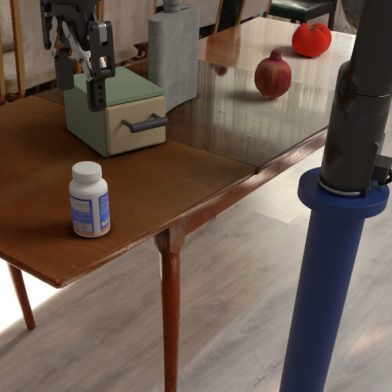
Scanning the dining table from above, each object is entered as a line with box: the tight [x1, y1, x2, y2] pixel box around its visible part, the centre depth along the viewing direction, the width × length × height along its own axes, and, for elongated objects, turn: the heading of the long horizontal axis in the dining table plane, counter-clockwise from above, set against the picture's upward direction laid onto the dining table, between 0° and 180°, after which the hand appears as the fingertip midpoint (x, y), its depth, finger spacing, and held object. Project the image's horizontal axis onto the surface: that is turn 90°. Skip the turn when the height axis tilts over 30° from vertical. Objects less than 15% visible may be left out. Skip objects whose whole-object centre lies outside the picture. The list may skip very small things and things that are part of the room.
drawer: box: [105, 96, 169, 154], centre depth 112 cm, size 18×11×8 cm, turn 35°
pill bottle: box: [68, 160, 111, 239], centre depth 89 cm, size 5×5×10 cm
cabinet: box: [63, 65, 165, 158], centre depth 115 cm, size 15×13×10 cm
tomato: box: [291, 22, 333, 58], centre depth 159 cm, size 10×11×6 cm
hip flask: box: [147, 0, 201, 115], centre depth 124 cm, size 16×4×20 cm, turn 150°
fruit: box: [253, 48, 293, 99], centre depth 132 cm, size 8×8×10 cm
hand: (81, 99), depth 80 cm, fingers open, 8 cm apart
